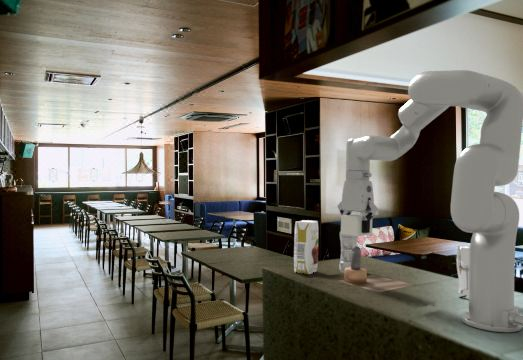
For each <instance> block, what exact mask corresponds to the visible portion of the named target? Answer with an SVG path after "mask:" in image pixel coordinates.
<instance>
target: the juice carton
mask: <svg viewBox="0 0 523 360" xmlns="http://www.w3.org/2000/svg"><path fill="white" fill-rule="evenodd" d="M293 241H294V242H293V243H294V244H293V246H294V247H293V267H294V268H293V271H294V273H296V272H297V274H303V273H304V275H305V274H306V275H311V274H313V272H314V273H315V272H317V269H318V263H319V221H318V220H312V219H311V220H309V219H307V220H305V219H302V220H299V221H295V224H294V238H293Z"/></svg>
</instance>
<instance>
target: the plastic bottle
mask: <svg viewBox="0 0 523 360" xmlns="http://www.w3.org/2000/svg"><path fill="white" fill-rule="evenodd" d="M339 240H340V260H339V265H338V269H339V271H340V273H341V274H345V268H347V267H351V249H352V247H354V246H358V236H354V235H347V234H341V230H340V231H339Z"/></svg>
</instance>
